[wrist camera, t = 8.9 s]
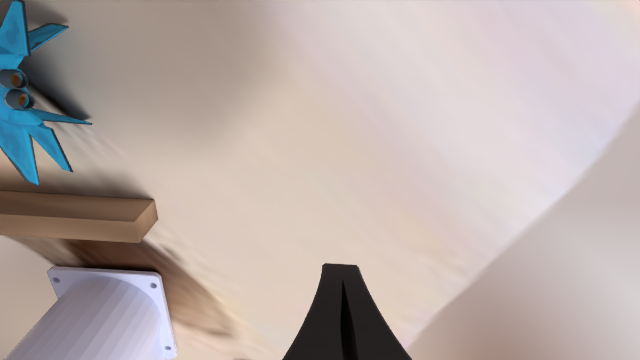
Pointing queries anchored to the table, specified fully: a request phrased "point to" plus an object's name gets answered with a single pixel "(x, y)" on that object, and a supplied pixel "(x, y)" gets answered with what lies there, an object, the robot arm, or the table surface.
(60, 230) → the brown wooden u shape
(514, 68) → the table surface
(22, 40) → the toy airplane
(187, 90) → the table surface
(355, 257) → the table surface
